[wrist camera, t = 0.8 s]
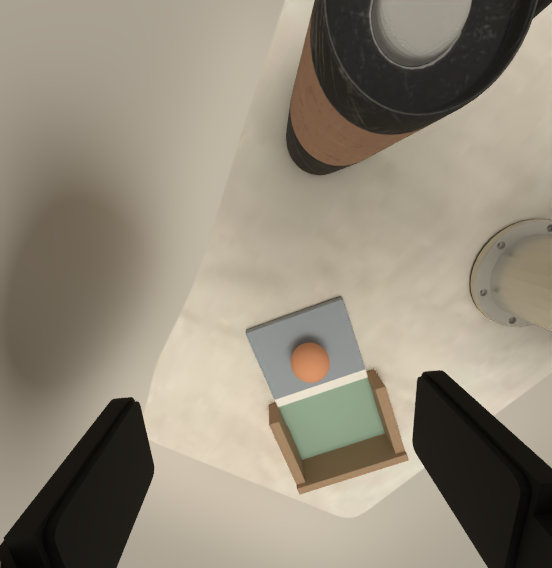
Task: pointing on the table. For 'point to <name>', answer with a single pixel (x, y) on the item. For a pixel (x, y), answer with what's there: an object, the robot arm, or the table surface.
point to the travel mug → (393, 71)
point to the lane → (326, 400)
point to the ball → (310, 362)
